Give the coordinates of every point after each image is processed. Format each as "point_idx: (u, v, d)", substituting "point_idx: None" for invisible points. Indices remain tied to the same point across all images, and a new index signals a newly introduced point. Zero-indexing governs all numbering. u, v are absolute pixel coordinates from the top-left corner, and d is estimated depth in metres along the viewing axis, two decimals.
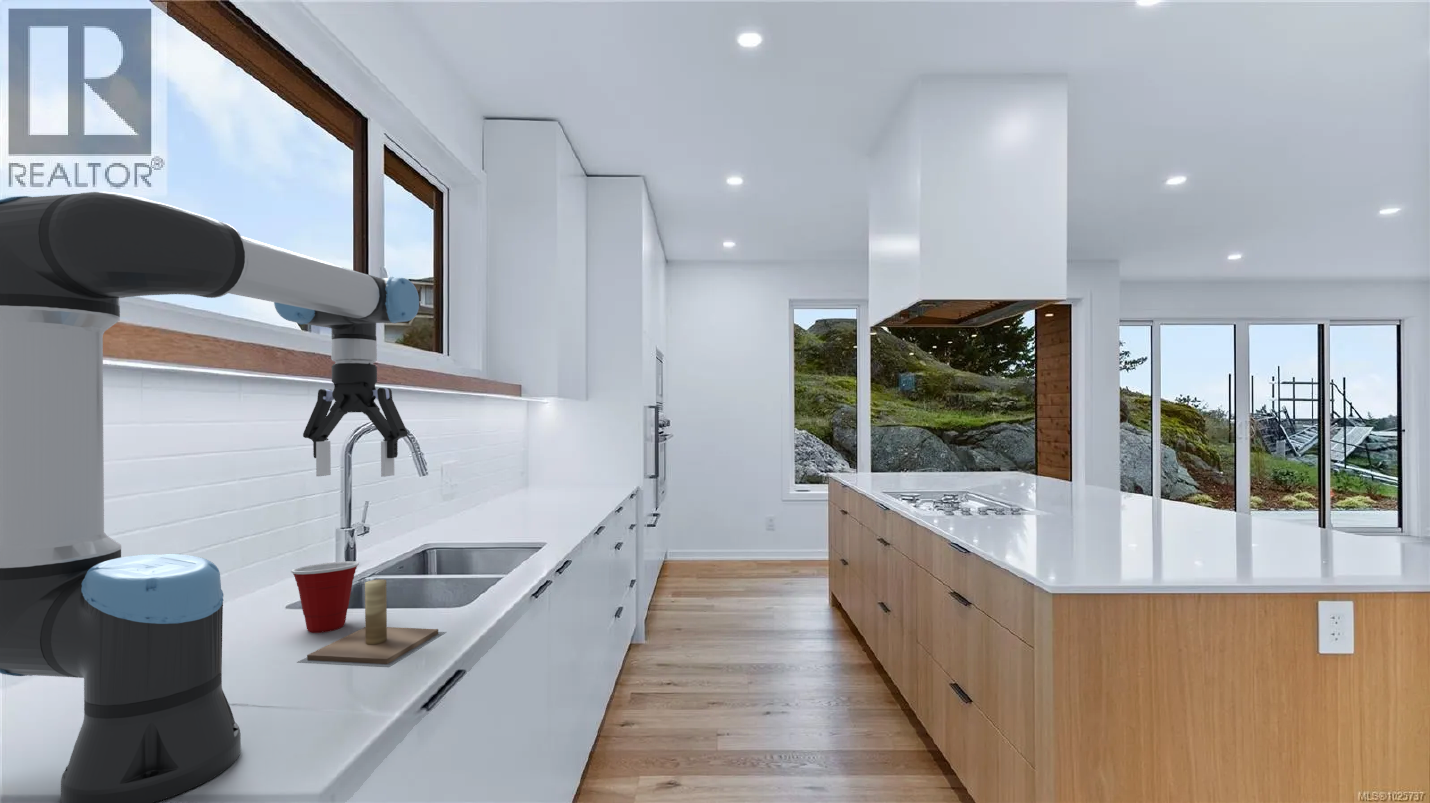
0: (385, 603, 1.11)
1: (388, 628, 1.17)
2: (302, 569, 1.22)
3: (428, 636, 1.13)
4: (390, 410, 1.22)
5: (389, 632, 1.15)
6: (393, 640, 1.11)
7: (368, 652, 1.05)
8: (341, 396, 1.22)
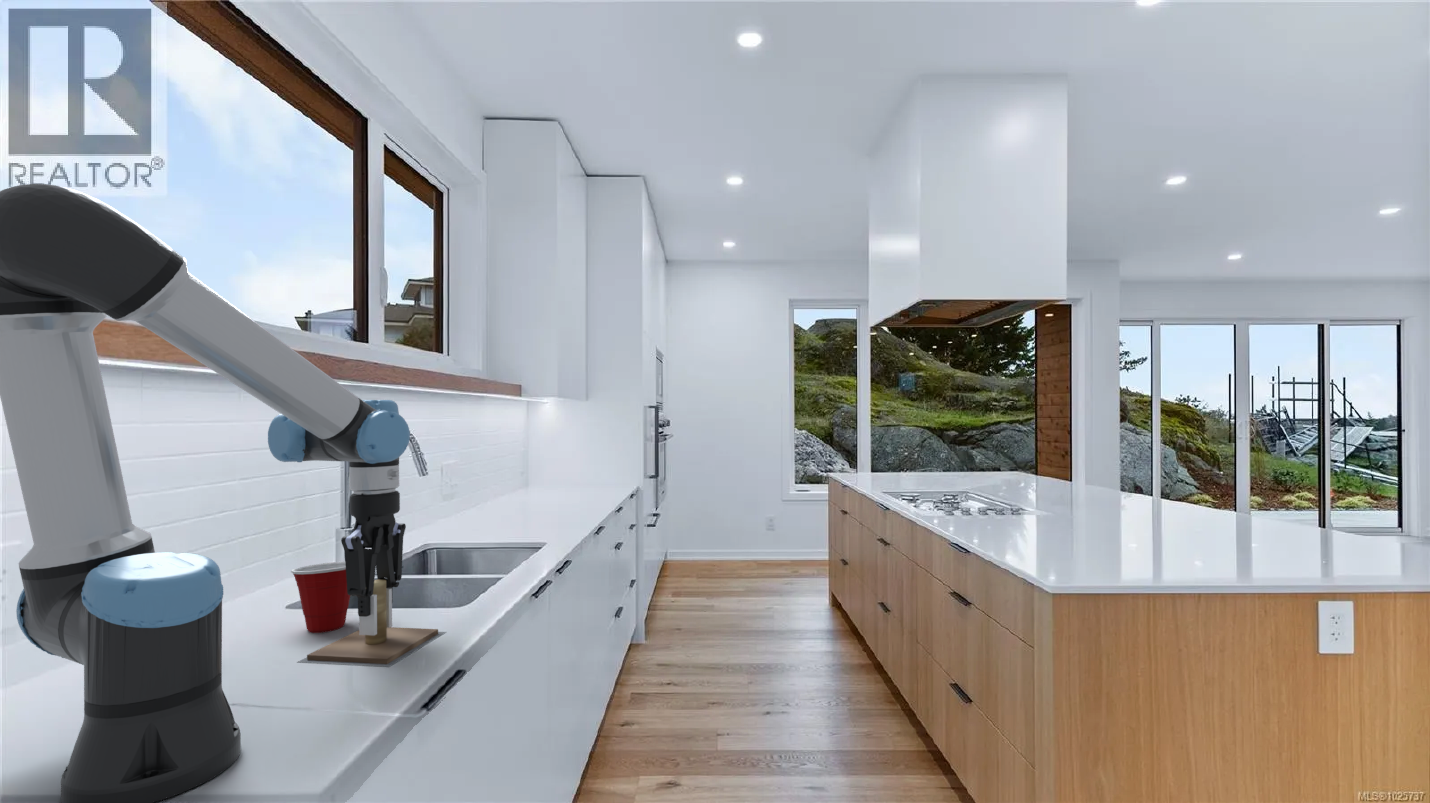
0: (385, 603, 1.11)
1: (388, 628, 1.17)
2: (302, 569, 1.22)
3: (428, 636, 1.13)
4: (347, 564, 1.05)
5: (389, 632, 1.15)
6: (393, 640, 1.11)
7: (368, 652, 1.05)
8: None
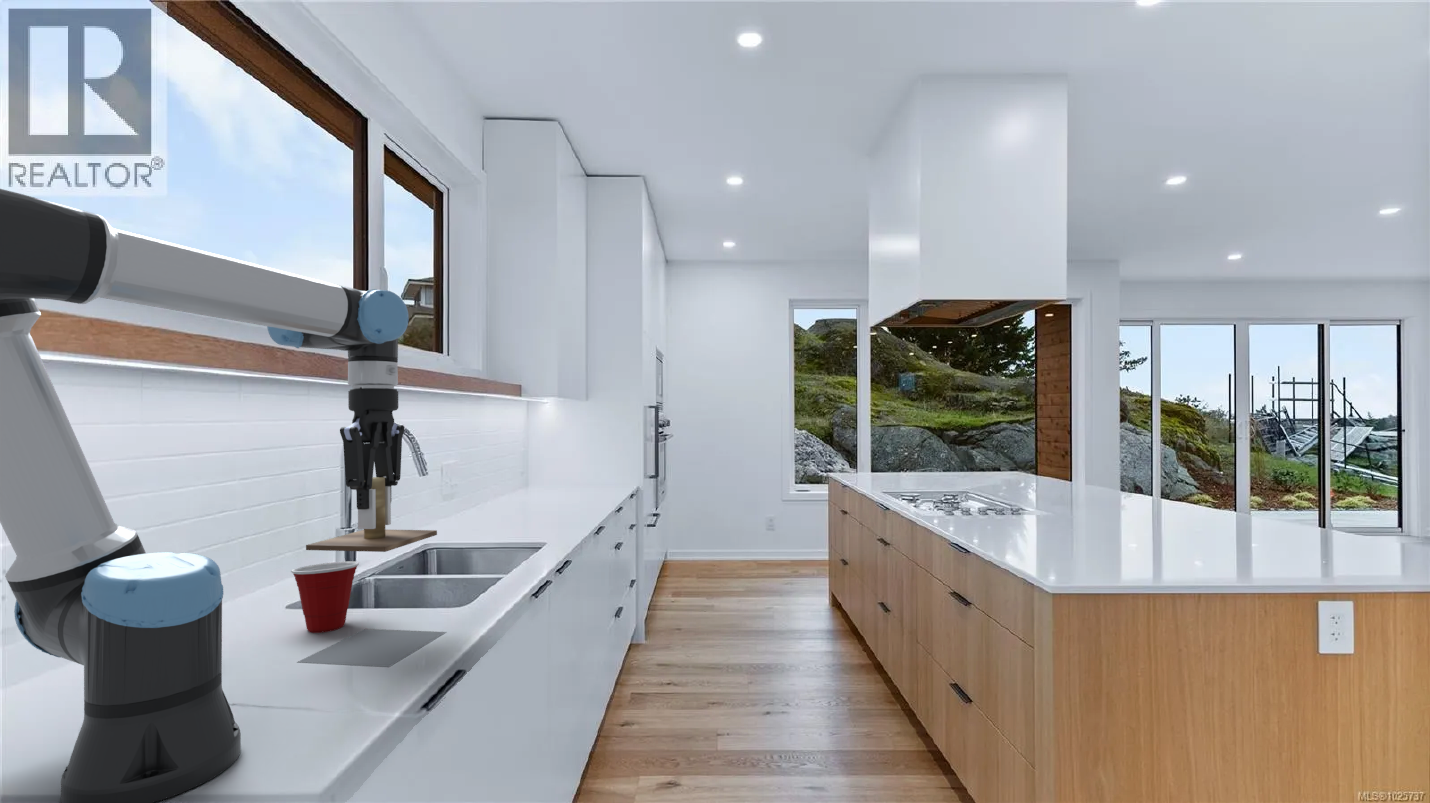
0: (384, 499, 1.11)
1: (387, 530, 1.17)
2: (302, 569, 1.22)
3: (427, 535, 1.14)
4: (346, 455, 1.06)
5: (388, 532, 1.15)
6: (391, 536, 1.11)
7: (366, 543, 1.06)
8: None
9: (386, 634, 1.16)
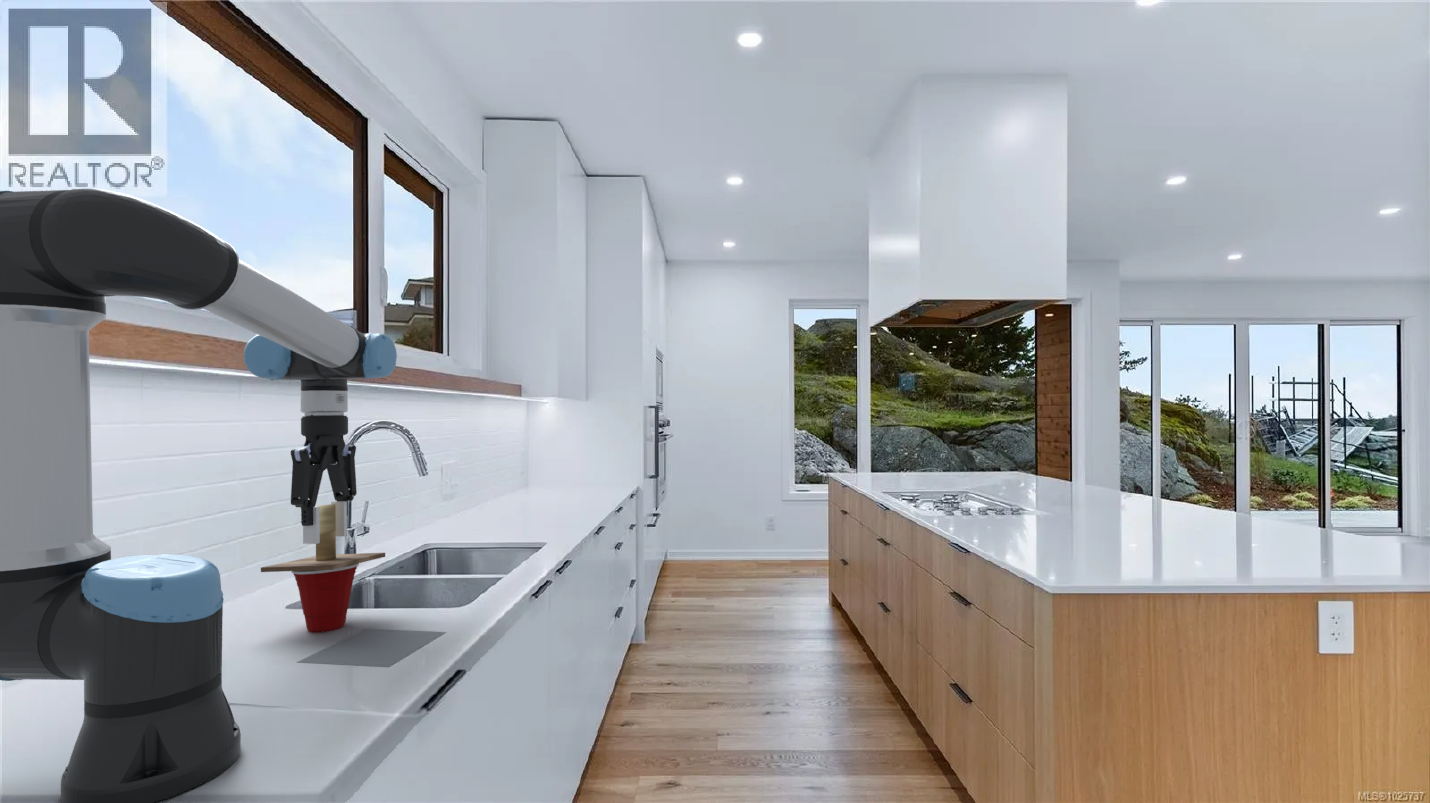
0: (334, 524, 1.22)
1: (339, 554, 1.28)
2: None
3: (375, 556, 1.24)
4: (294, 475, 1.15)
5: (339, 556, 1.25)
6: (341, 558, 1.21)
7: (316, 563, 1.16)
8: None
9: (386, 634, 1.16)
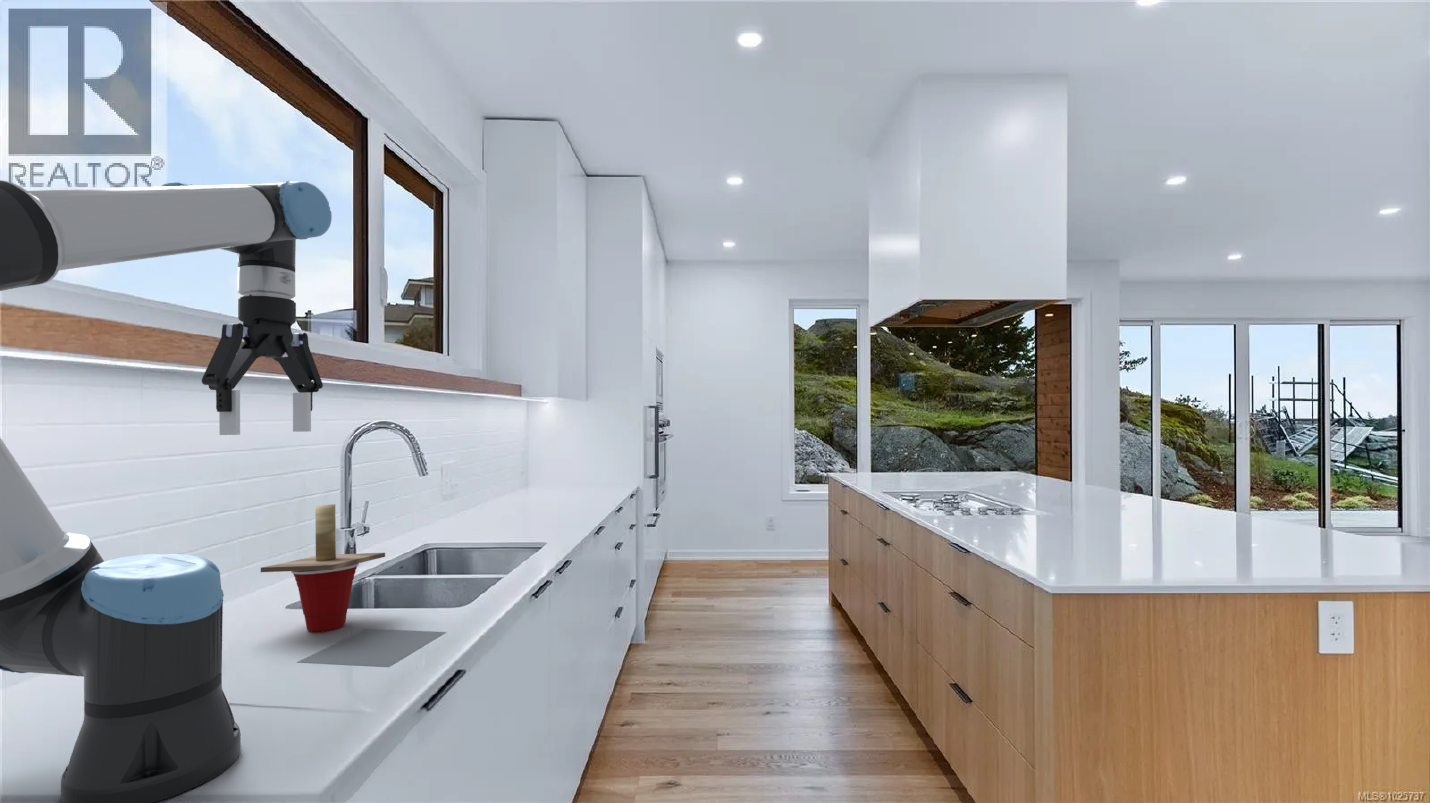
0: (334, 524, 1.22)
1: (339, 554, 1.28)
2: None
3: (374, 556, 1.24)
4: (217, 351, 0.95)
5: (339, 556, 1.25)
6: (341, 558, 1.21)
7: (316, 563, 1.16)
8: None
9: (386, 634, 1.16)
